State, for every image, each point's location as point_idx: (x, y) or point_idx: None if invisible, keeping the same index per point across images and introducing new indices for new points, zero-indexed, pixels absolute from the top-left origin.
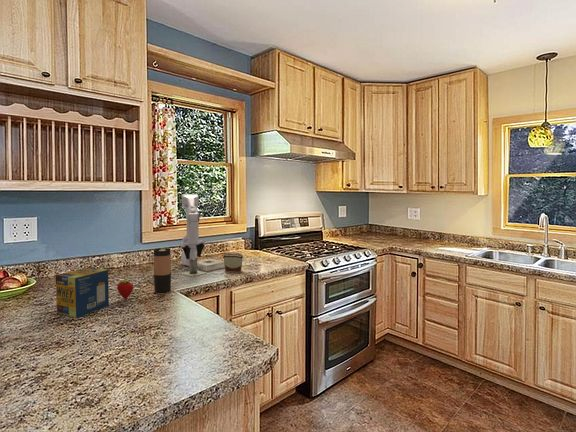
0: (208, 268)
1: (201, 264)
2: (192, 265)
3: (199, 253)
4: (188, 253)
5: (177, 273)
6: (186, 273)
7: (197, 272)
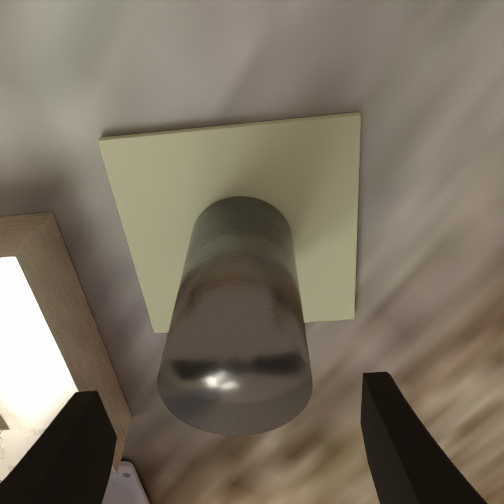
0: (9, 233)
1: (61, 352)
2: (285, 278)
3: (67, 471)
4: (461, 492)
5: (363, 342)
6: (319, 270)
7: (190, 229)
